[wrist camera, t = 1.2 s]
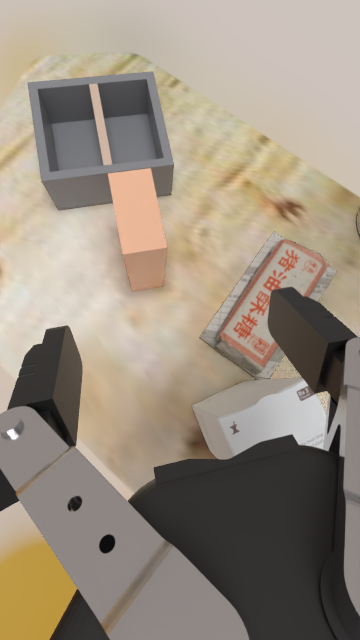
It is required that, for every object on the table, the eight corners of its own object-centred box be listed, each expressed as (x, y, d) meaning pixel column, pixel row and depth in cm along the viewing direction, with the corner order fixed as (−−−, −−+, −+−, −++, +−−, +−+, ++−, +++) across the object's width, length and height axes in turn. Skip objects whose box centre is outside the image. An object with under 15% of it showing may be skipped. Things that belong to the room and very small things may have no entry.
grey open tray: (153, 112, 43) (153, 71, 37) (171, 194, 41) (173, 164, 35) (45, 124, 41) (27, 82, 35) (58, 210, 39) (41, 181, 33)
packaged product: (277, 386, 33) (203, 333, 34) (262, 384, 38) (197, 338, 38) (353, 262, 37) (285, 216, 37) (330, 275, 41) (270, 234, 42)
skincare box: (209, 450, 36) (247, 503, 21) (189, 402, 36) (212, 420, 22) (271, 421, 37) (348, 451, 22) (250, 374, 38) (311, 375, 23)
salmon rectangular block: (151, 228, 40) (150, 168, 28) (163, 286, 39) (167, 247, 27) (121, 233, 39) (107, 173, 28) (132, 291, 38) (122, 254, 26)
